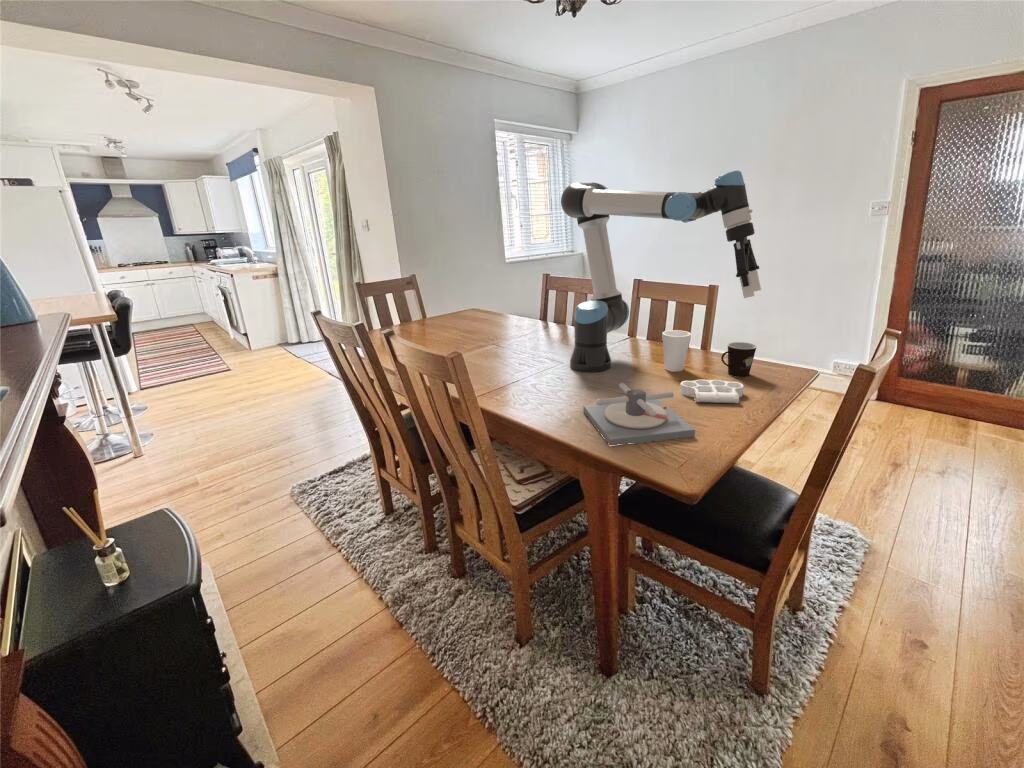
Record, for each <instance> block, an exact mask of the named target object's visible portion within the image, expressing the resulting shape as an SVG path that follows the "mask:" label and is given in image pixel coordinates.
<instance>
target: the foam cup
mask: <svg viewBox="0 0 1024 768" xmlns="http://www.w3.org/2000/svg"><path fill="white" fill-rule="evenodd" d="M691 337H692V333H691V332H689V331H686V330H681V329H680V330H677V329H675V330H674V329H669V330H664V331H662V335H661V341H662V348H663V349H662V350H663V351H662V352H663V363H664V366H663V367H664V370H665V369H666V370H665V371H667V370H668V371H667V372H672V373H673V372H675V373H676V372H681V371H684V369H685V368H684V367H685V365H686V363H685V362H686V359H687V355H688V351H689V345H690V342H691Z"/></svg>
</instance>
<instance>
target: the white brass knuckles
mask: <svg viewBox="0 0 1024 768" xmlns="http://www.w3.org/2000/svg"><path fill="white" fill-rule="evenodd" d="M679 393H680V394H681V395H682V396H685V395H686V397H691V398H693V397H694V398H693V401H694V400H696V401H694V402H695V403H711V404H712V403H713V404H714V403H715V404H739V402H740V398H741V397H743V395H744V384H743V383H741V382H738V381H726V380H721V379H704V378H703V379H702V378H701V379H694V380H683V381H681V382H680V385H679ZM740 396H741V397H740Z"/></svg>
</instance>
